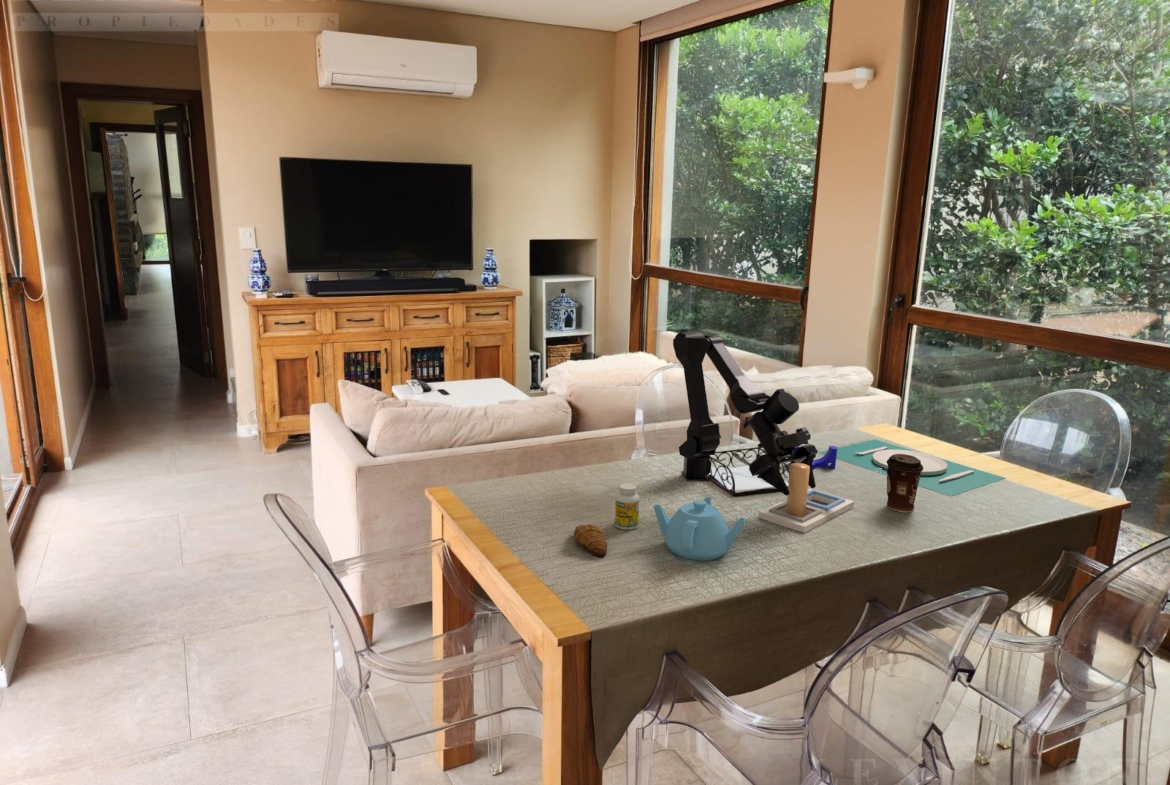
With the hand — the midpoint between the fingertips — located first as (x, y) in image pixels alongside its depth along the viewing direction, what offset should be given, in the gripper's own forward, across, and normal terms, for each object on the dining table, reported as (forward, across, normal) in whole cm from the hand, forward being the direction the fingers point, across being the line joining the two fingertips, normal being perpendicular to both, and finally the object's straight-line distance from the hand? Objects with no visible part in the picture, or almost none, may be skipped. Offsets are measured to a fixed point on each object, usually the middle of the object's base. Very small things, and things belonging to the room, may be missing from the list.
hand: (801, 491), depth 190 cm
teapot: (+5, -32, +6) cm, 33 cm away
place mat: (-2, +61, +13) cm, 63 cm away
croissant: (-5, -50, +16) cm, 53 cm away
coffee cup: (+11, +28, 0) cm, 30 cm away
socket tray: (+4, +6, +6) cm, 9 cm away
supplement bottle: (-8, -37, +18) cm, 42 cm away
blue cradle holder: (-12, +35, +22) cm, 43 cm away
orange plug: (+4, 0, +6) cm, 7 cm away
